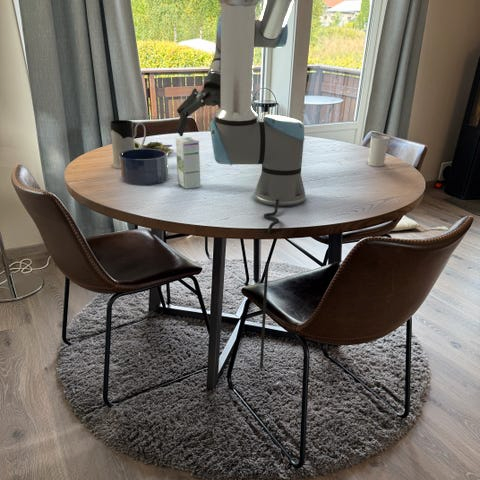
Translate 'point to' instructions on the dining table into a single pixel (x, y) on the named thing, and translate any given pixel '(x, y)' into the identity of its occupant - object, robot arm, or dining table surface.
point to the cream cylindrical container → (378, 150)
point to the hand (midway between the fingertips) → (198, 135)
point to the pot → (144, 166)
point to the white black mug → (123, 138)
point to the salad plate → (155, 146)
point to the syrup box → (188, 162)
